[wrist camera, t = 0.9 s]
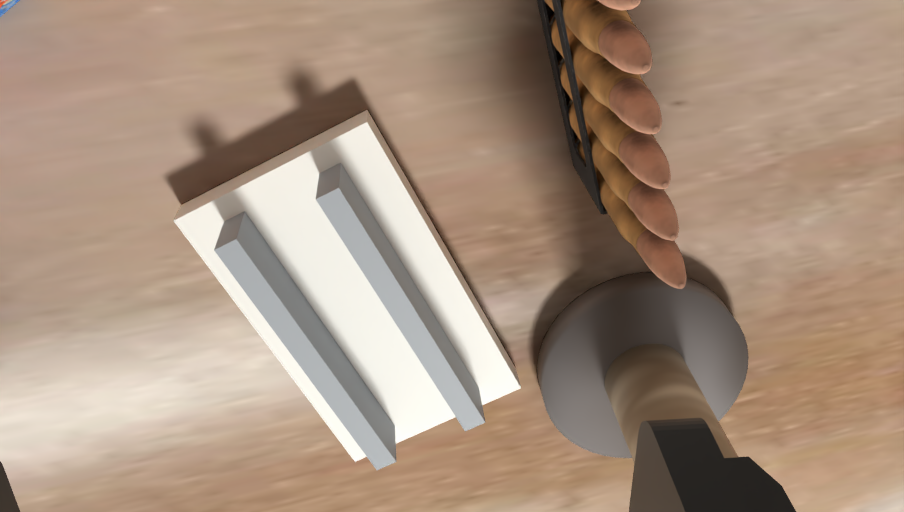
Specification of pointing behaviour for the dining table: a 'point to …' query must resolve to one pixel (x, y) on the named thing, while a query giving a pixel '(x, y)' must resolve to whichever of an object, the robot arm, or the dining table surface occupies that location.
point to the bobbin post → (640, 362)
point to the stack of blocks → (6, 5)
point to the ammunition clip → (614, 123)
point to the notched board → (352, 289)
